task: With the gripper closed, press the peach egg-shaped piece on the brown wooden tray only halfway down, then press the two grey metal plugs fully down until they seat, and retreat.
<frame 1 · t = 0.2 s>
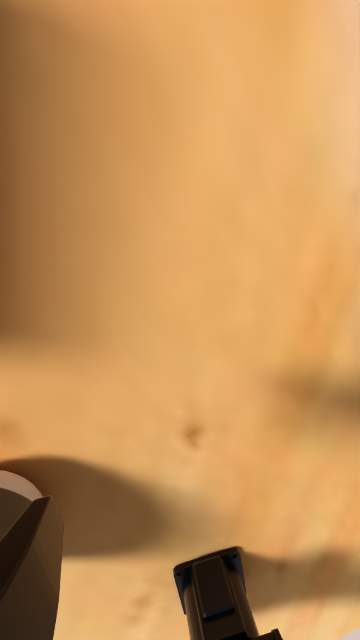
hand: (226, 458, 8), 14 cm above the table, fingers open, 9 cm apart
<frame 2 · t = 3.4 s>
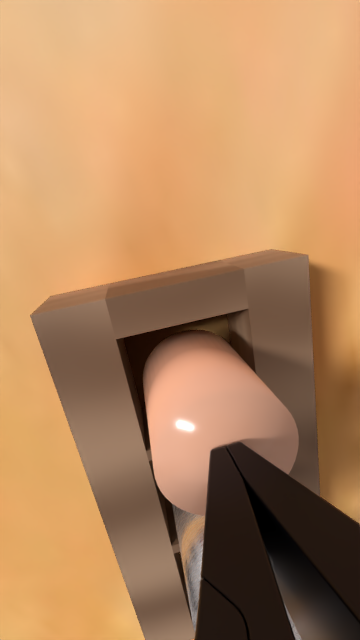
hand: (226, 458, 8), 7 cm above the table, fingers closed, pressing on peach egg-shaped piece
plug metal mid: (231, 535, 12), point 5 cm above the table, slide at 0.0 cm
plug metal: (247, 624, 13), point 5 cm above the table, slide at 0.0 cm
peach egg-shaped piece: (206, 407, 10), point 5 cm above the table, slide at 0.4 cm, touching gripper
brown wooden tray: (199, 445, 17), on the table
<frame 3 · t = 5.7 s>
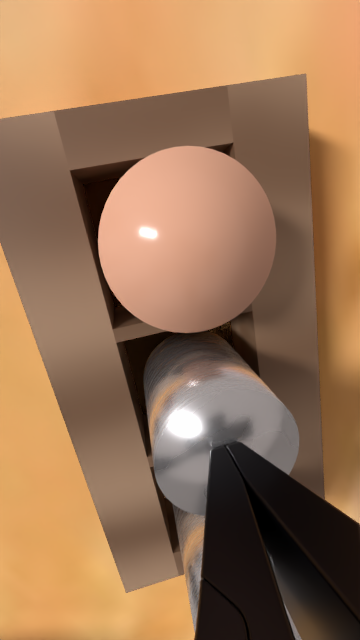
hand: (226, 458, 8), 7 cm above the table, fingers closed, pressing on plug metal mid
plug metal mid: (206, 407, 10), point 4 cm above the table, slide at 0.8 cm, touching gripper
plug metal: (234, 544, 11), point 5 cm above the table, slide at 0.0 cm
peach egg-shaped piece: (174, 242, 9), point 4 cm above the table, slide at 1.1 cm
brown wooden tray: (183, 356, 15), on the table
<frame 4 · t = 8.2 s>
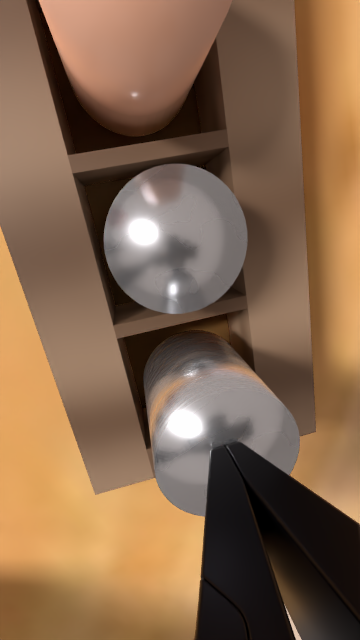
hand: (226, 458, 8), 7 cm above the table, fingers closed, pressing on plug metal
plug metal mid: (167, 240, 11), point 3 cm above the table, slide at 2.4 cm
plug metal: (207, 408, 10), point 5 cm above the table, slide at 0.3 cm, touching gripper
peach egg-shaped piece: (131, 20, 8), point 4 cm above the table, slide at 1.1 cm
brown wooden tray: (158, 237, 13), on the table
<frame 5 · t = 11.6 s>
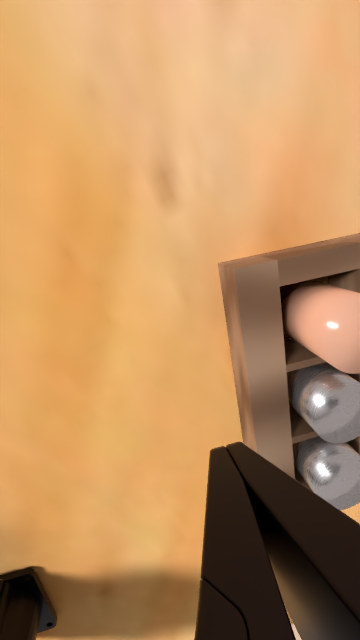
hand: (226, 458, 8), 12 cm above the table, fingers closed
plug metal mid: (321, 394, 20), point 3 cm above the table, slide at 2.4 cm
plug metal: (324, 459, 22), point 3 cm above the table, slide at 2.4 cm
peach egg-shaped piece: (332, 323, 17), point 4 cm above the table, slide at 1.1 cm
brown wooden tray: (299, 375, 23), on the table
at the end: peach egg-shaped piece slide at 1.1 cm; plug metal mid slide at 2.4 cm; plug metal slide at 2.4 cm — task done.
